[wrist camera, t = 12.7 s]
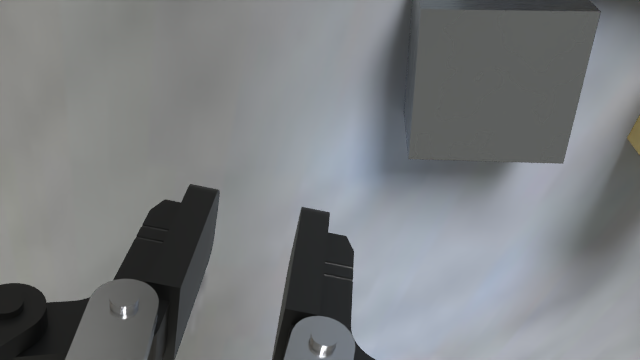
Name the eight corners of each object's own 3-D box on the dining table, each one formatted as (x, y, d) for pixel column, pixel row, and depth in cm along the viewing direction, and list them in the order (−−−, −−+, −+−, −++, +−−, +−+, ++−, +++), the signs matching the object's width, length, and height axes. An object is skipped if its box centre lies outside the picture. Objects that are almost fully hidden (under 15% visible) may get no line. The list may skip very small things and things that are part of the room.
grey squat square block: (403, 110, 32) (408, 159, 28) (413, -24, 28) (420, 9, 24) (537, 113, 32) (563, 163, 28) (566, -23, 28) (601, 11, 24)
